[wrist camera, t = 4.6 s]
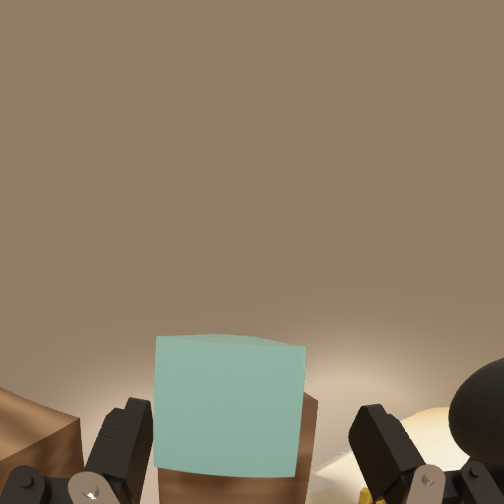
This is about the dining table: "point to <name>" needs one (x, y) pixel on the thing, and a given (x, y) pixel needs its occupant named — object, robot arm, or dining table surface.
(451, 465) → the dining table surface
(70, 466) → the pedestal
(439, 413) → the dining table surface
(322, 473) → the dining table surface
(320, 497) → the dining table surface
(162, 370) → the bar
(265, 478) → the stand
